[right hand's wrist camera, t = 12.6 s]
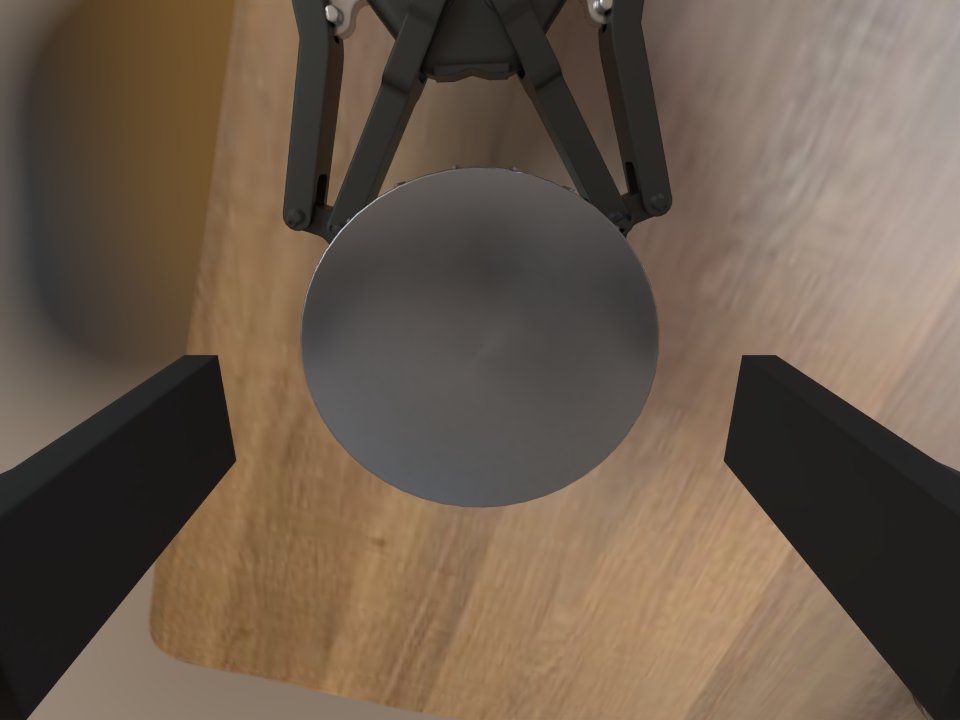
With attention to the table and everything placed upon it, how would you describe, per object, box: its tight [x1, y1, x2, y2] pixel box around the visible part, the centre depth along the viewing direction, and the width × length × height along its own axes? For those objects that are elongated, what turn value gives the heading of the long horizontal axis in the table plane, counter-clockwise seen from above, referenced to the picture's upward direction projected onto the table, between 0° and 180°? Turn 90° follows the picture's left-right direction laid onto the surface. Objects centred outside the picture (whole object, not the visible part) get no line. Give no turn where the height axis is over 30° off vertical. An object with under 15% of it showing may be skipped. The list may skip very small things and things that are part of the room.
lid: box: [300, 165, 659, 507], centre depth 17 cm, size 11×11×2 cm
